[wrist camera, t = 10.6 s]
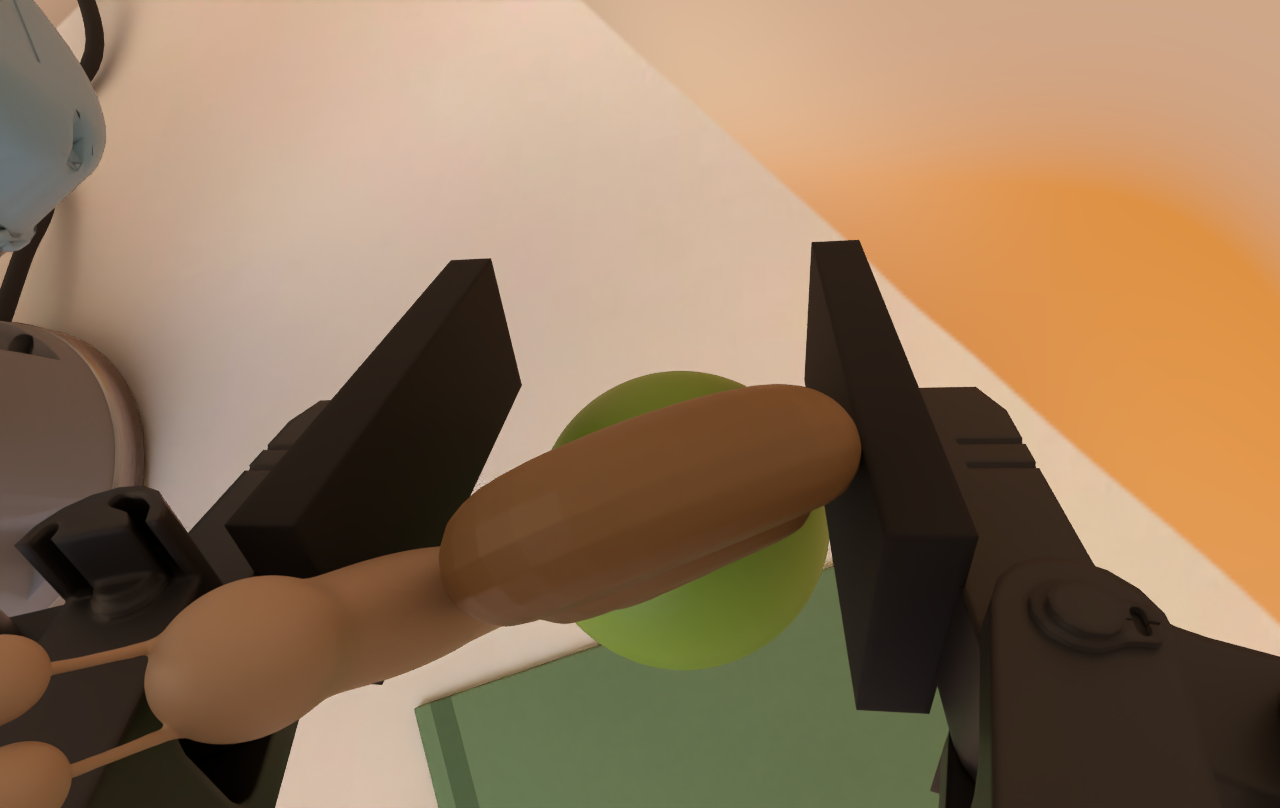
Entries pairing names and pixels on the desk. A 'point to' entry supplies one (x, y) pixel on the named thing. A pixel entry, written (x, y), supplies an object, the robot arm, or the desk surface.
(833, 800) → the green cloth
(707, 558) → the snail figurine
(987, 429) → the robot arm
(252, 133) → the desk surface
